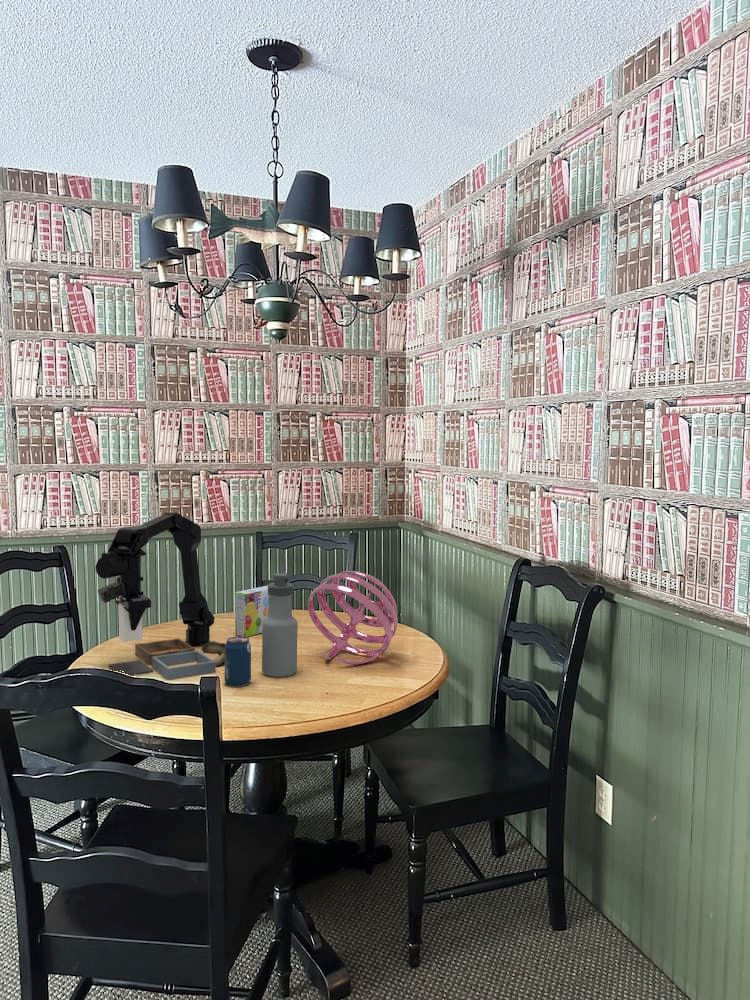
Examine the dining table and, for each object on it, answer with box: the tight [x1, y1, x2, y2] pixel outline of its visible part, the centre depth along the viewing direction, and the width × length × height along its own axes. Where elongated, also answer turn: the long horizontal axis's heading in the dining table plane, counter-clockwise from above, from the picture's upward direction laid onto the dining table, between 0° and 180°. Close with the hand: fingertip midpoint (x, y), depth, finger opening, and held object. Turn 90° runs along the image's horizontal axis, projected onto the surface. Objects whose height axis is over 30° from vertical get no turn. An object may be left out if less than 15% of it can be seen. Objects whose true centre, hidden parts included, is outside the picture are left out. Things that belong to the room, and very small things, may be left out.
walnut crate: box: [134, 638, 196, 666], centre depth 219 cm, size 14×14×3 cm
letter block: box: [118, 602, 143, 643], centre depth 205 cm, size 5×5×10 cm
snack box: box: [234, 585, 269, 638], centre depth 253 cm, size 21×6×15 cm, turn 144°
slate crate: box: [151, 649, 217, 681], centre depth 206 cm, size 14×14×3 cm
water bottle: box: [261, 572, 299, 678], centre depth 205 cm, size 10×10×28 cm
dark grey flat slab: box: [107, 659, 154, 676], centre depth 206 cm, size 9×12×1 cm
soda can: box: [223, 636, 252, 688], centre depth 195 cm, size 7×7×12 cm
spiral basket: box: [307, 570, 398, 666], centre depth 219 cm, size 28×28×27 cm
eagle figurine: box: [200, 640, 226, 667], centre depth 214 cm, size 8×7×9 cm
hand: (130, 628), depth 205 cm, fingers closed on letter block, 5 cm apart
